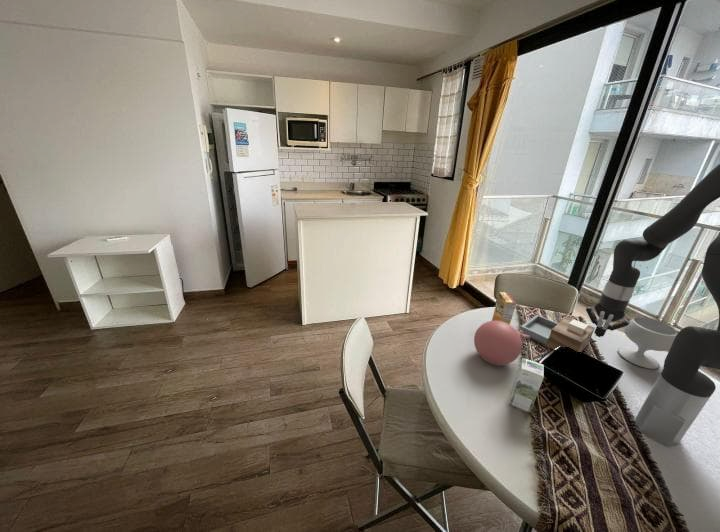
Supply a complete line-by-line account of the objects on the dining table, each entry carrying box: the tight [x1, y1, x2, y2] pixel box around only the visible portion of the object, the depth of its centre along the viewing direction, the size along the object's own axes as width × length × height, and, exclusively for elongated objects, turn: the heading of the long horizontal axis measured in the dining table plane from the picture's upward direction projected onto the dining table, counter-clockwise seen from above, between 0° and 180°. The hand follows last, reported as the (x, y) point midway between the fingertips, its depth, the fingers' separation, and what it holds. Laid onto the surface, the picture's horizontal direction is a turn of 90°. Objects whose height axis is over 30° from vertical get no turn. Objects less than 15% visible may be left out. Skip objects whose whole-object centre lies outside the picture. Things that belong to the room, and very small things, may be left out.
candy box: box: [491, 291, 517, 325], centre depth 123 cm, size 9×4×15 cm, turn 175°
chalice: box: [617, 316, 678, 370], centre depth 108 cm, size 14×14×15 cm
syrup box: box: [509, 357, 545, 414], centre depth 86 cm, size 6×6×14 cm
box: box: [519, 314, 559, 347], centre depth 123 cm, size 16×10×4 cm, turn 129°
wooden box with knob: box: [545, 316, 596, 353], centre depth 115 cm, size 16×10×8 cm, turn 129°
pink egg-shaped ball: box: [473, 320, 530, 366], centre depth 104 cm, size 15×20×15 cm
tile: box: [567, 318, 589, 335], centre depth 112 cm, size 5×5×2 cm
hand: (598, 335), depth 108 cm, fingers closed
